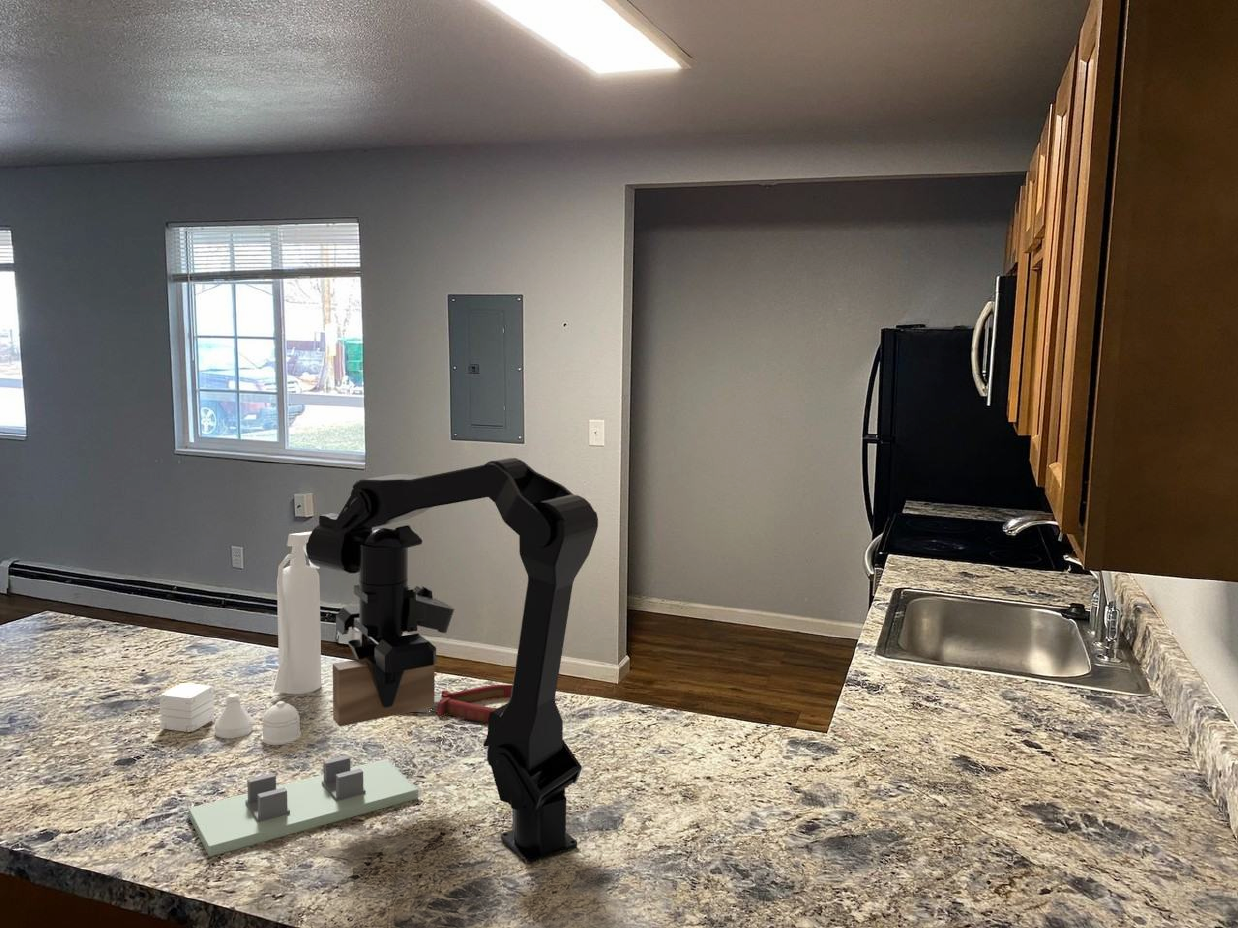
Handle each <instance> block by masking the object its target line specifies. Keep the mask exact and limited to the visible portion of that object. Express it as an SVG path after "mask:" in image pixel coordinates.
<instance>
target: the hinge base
mask: <svg viewBox="0 0 1238 928" xmlns="http://www.w3.org/2000/svg"><path fill="white" fill-rule="evenodd" d="M322 764H323V774H320V775H316V776H312V777H309V778H304V779H300V780H296V781H292V782H288V783H284V784H280V785H277V776H276V774H275V773H274V772H271V773H268V774H267V773H266V774H263V775H262V774H261V775H259V776H254V777H251V778H247V780H246V781H247V783H246V785H247V793H243V794H240V795H235V796H231V797H227V798H223V799H220V800H215V801H212V802H207V803H203V804H200V805H195V806H191V807H188V818H189V820H190V822H191V824H192V826H193V827H194V830H195V832H196V834H197V835H198V837H199V839H200V841H201V843H202V845H203V847H204V849H205V851H206V852H207V855H208V857H209V858H210V857H214V856H217V855H221V854H225V853H228V852H232V851H235V850H239V849H242V848H246V847H249V846H253V845H256V844H260V843H264V842H267V841H271V840H274V839H278V838H281V837H286V836H288V835H292V834H296V833H299V832H304V831H307V830H310V829H315V828H317V827H321V826H325V825H328V824H332V823H335V822H339V821H342V820H345V819H350V818H353V817H357V816H361V815H364V814H368V813H371V812H374V811H378V810H382V809H385V808H388V807H392V806H396V805H400V804H403V803H407V802H410V801H414V800H417V799H419V789H418V788H417V787H416V785H414V784H413V782H411V781H410V779H408V778H407V777H406V776H405V775H404V774H403V773H402V772H401V771H400V770H399V769H398V768H397V767H396V766H394V764H393V763H391V761H389V760H388V759H387V758H384V759H380V760H377V761H372V762H367V763H364V764H363V763H362V764H360V765H356V766H352V767H351V757H350V756H349V755H348V754H345V755H342V756H337V757H333V758H329V759H325V760H323V763H322Z"/></svg>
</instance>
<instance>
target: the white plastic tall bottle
mask: <svg viewBox="0 0 1238 928" xmlns="http://www.w3.org/2000/svg"><path fill="white" fill-rule="evenodd" d="M311 533H312V531H305V532H298V533H296V532H295V533H289V534H288V537H287V544H286V546H287V547H291V553H289V554H287V555H286V556H285V557H284V559H283V560H282V561H281V563H280V564H279V565H278V569H277V570H278V571H277V579H276V593H277V594H276V595H277V596H276V597H277V601H276V602H277V607H276V608H277V637H278V638H277V640H278V641H277V642H278V645H277V646H278V648H277V649H278V669H277V672H276V676H275V680H274V683H273V687H272V689H271V691H272V692H273V693H278V694H279V693H281V694H283V693H284V694H287V695H304V694H309V693H313V692H316V691H317V690H319V689H321V688H322V652H321V651H322V650H321V649H322V648H321V645H322V643H321V641H322V638H321V637H322V636H321V603H320V602H321V596H320V595H321V594H320V592H321V590H320V588H321V587H320V586H321V585H320V574H319V572H318V570H319V569H320V568H321V567H318V566H316V565H314V564H312V563H311V562H310V560H309V559H308V562H309V565H307V560H306V556H307V552H306V544H307V542H308V540H309V537H310V534H311ZM307 558H308V556H307ZM289 561H290V562H289ZM288 562H289V565H288V566H287V567H285V566H286V564H288Z"/></svg>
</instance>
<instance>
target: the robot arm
mask: <svg viewBox="0 0 1238 928" xmlns="http://www.w3.org/2000/svg"><path fill="white" fill-rule="evenodd" d="M484 498H489V499H490V500H491V501H492V502H494V504H495V506H496V509H497V510H498V512H499V514H500V516H501V519H502V521H503V523H505V524H506V525H507V526H508V527H509V528H510V529H511V530H513V532H515V533H516V534H517V535H518V536H519V537H518V540H519V541H518V544H519V549H518V552H519V557H520V559H521V562H522V564H523V566H524V570H525V572H526V575H527V583H526V585H527V586H526V591H525V592H526V593H525V598H524V599H525V600H524V604H523V605H524V606H523V613H522V619H521V627H520V634H519V639H518V640H519V641H518V648H517V654H516V659H515V660H516V661H515V668H514V675H513V682H512V685H513V687H512V694H511V698H509V701H508V702H507V703H505V704H503V705H501V706H499V707H496V708H497V709H495V710H493V711H491V712H490V714H489V718H488V723H487V734H486V739H485V741H484V742H483V744H482V745H483V747H484V748H486V747H487V751H486V754H487V755H486V757H487V764H488V765H489V766H490V767H491V772H492V774H493V775H492V776H493V779H494V783H495V787H496V790H497V793H498V797H499V800H500V801H501V802H504V803H506V804H508V805H509V806H510V809H512V829H510V830H508V831H505V832H502V833H501V834H500V839H501V840H502V841H503V842H504V843H505V844H506V845H507V846H508V847H509V848H510V849H512V851H514V852H515V853H516V854H517V855H518V856H519V857H520V858H521V859H523V860H524V861H525V862H526V863H529V864H531V863H532V864H533V863H535V862H537V861H541V860H544V859H546V858H549V857H553V856H556V855H558V854H560V853H563V852H566V851H569V850H572V849H574V848H575V849H576V848H577V847H578V841H577V839H575V838H574V837H573V836H571V835H570V834H569V833H567V797H566V788H568V787H569V786H571V785H572V784H575V783H576V782H578V779H579V777H580V775H581V772H582V769H583V768H582V765H581V763H580V762H579V760H578V759H577V758H576V756H575V754H574V753H573V752H572V751H571V749H570V747H569V746H568V744H567V743H566V742H565V740H564V739H563V738H564V732H563V729H564V728H563V726H564V723H563V718H562V715H561V713H560V710H559V708H558V705H557V704H556V694H557V688H558V682H559V681H558V680H559V675H560V674H559V673H560V668H561V661H562V655H563V649H564V642H565V635H566V629H567V623H568V616H569V611H570V605H571V604H570V603H571V597H572V591H573V585H574V581H575V578H576V577H577V575H578V573H579V572H580V570H581V569H582V567H583V565H584V564H585V562H586V561H587V559H588V557H589V556H590V553H591V550H592V547H593V543H594V541H595V538H596V535H597V531H598V526H599V518H598V514H597V512H596V511H595V509H594V508H593V506H592V504H591V503H590V502H589V501H588V500H587V499H586V498H585V497H582V496H580V495H578V494H573V492H571V491H570V490H569V489H568V488H567V487H565V486H564V485H562V484H561V483H558V482H556V481H554V480H553V479H550V478H548V477H547V476H545V475H543V474H541V473H539V472H537V471H536V470H534V469H533V468H532V467H531V466H530V465H528V463H526V462H525V461H523V460H521V459H519V458H516V457H509V458H508V457H507V458H503V459H502V458H501V459H496V460H491V461H488V462H486V463H483V464H481V465H477V466H472V467H471V466H470V467H467V468H463V469H457V470H451V471H447V472H441V473H437V474H432V475H420V474H410V473H409V474H407V473H405V474H404V473H396V474H390V475H382V476H375V477H370V478H365V479H360V480H359V479H358V480H357V481H356V482H354V484H353V485H352V489H351V492H350V495H349V498H348V499H347V501H346V503H345V504H344V506H343V508H342V509H341V511H340V513H339V514H337V513H333V512H330V513H325V514H320V515H319V516H318V525H317V526H315V527H314V529H313V530H312V531H311V532H312V533H311V534H310V537H309V540H308V542H307V544H306V552H307V555H306V556H308V557H307V558H308V561H309V560H310V562H311V563H312V564H314V565H316V566H318V567H320V568H324V569H327V570H333V571H338V572H342V573H347V574H357V573H358V579H359V581H358V584H355V585H353V594H354V595H355V596H357V598H358V602H359V603H358V605H353V606H351V605H350V606H345V607H342V608H341V609H340V610H339V611H337V614H335V630H336V631H338V632H339V633H340V634H341V635H343V636H344V635H347V634H349V631H350V629H349V628H351V630H352V631H354V639H351V640H349V641H348V642H347V643H348V646H349V648H350V649H351V651H352V653H353V655H354V658H355V660H358V659H364V658H365V659H366V662H367V665H368V668H369V670H370V673H371V676H372V678H373V681H374V684H375V687H376V689H377V692H378V695H379V698H380V700H381V703H382V705H383V707H385V708H386V707H391V706H392V705H393V703H394V700H395V697H396V693H397V690H398V687H399V684H400V681H401V678H402V675H403V673H404V670H409V669H415V668H421V667H426V666H432V665H434V664H435V665H436V663H437V647H436V646H435V645H433V643H432V642H430V641H429V640H428V639H426V638H425V637H424V636H423V635H420V634H419V633H411V632H418V627H422V628H427V629H432V630H436V631H437V632H438V633H442V634H447V632H448V629H449V626H450V623H451V619H452V617H453V615H454V611H455V608H454V607H453V606H451V605H449V604H447V603H446V602H444V601H442V600H439V599H438V598H433V597H434V596H433V591H432V590H431V589H430V588H428V587H425V586H421V585H416V586H415V587H414V588H413V587H411V586H409V577H408V576H409V560H408V559H409V548H413V547H417V546H420V545H422V544H423V539H422V538H421V537H420V536H419V535H418V534H417V533H416V532H415V531H413V529H412V528H411V525H408V524H407V525H402V526H397V527H395V528H394V529H392V528H385V527H382V528H377V527H381V526H386V525H390V524H394V523H398V522H402V521H403V522H404V521H407V520H409V519H412V518H414V517H417V516H419V515H421V514H423V513H425V512H426V511H428V510H430V509H432V508H434V507H439V506H440V507H441V506H445V505H451V504H457V503H461V502H468V501H473V500H479V499H484ZM373 528H377V529H375V530H374V531H373ZM404 632H407V633H411V634H405V635H404Z"/></svg>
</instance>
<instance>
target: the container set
mask: <svg viewBox="0 0 1238 928" xmlns="http://www.w3.org/2000/svg"><path fill="white" fill-rule="evenodd" d="M214 694H215V693H214V688H213V687H212V685H208V684H199V683H193V682H192V683H191V682H183V683H180V684H177V685H176V686H174V687H171V688H170V689H167V690H166V691H164V692H162V693H161V695H160V696H159V706H160V709H159V710H160V726H161V727H162V729H164V730H170V731H178V732H185V733H186V732H188V733H191V732H195V731H196V730H198V729H200V728H202V727H203V726H205V725H207V724H209V723H210V722H211V721H213V720H214V717H215V699H214V698H215V697H214ZM225 699H226V702H225V703H226V705H225V707H224V709H223V710H222V712H221V714H220V715H219V717H218V718H217V719H216V720H215V722H214V734H215V736H216V737H218V738H221V739H234V738H241V737H244V736H247V735H248V734H250V733H252V732H253V730H254V728H253V727H254V723H253V721H254V720H253V717H252V716H251V714H249V712H248V711H247V710H246V709H245V708H244V707H243V706H242V705H241V696H240V695H239V694H237V693H230V694H228V695H227V696H226V698H225ZM300 720H301V718H300V714H299V712H298V709H296V708H295V707H294V706H293V705H291V704H289V703H286V702H285V701H283V700H280V701H277V702H276V704H274V705H272V706H270V707H269V708H267V710H266V711H265V713H264V714H263V716H262V720H261V727H262V735H261V737H260V738H261V739H260V740H261V741H262V743H264V744H266V745H272V746H279V745H280V746H281V745H287V744H291V743H293V741H294V742H296V741H298V740H299V739H300V738H301V737H302V731H301V730H300V725H301V724H300Z"/></svg>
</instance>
